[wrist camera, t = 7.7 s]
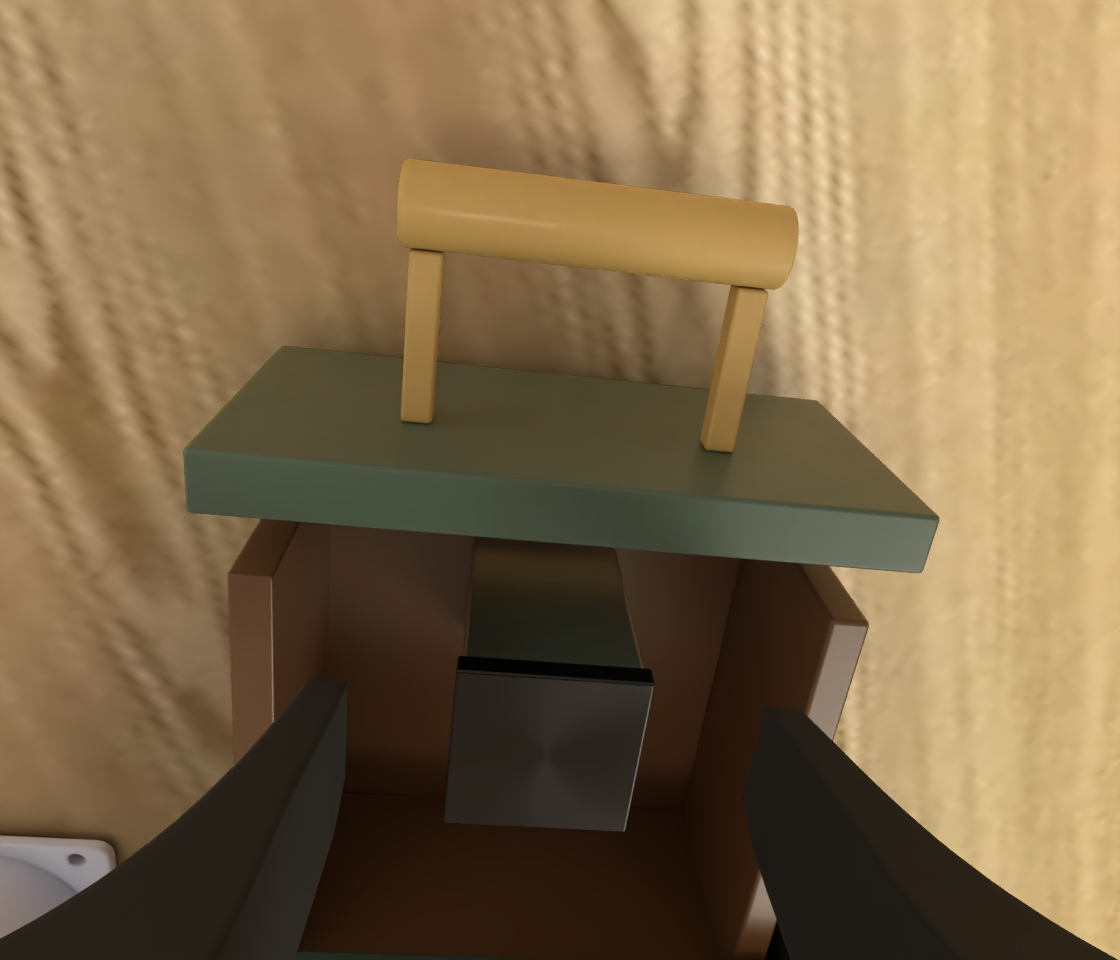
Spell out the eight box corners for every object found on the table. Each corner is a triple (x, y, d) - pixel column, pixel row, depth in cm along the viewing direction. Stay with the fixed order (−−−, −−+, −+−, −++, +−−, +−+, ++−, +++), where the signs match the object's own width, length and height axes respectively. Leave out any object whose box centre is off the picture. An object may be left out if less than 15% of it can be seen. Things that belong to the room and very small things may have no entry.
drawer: (279, 128, 18) (163, 139, 12) (868, 203, 20) (1032, 247, 13) (284, 782, 25) (212, 997, 19) (715, 805, 27) (777, 1014, 21)
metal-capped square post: (460, 633, 22) (442, 824, 16) (471, 510, 21) (456, 670, 15) (595, 643, 23) (625, 833, 17) (615, 522, 21) (656, 683, 15)
